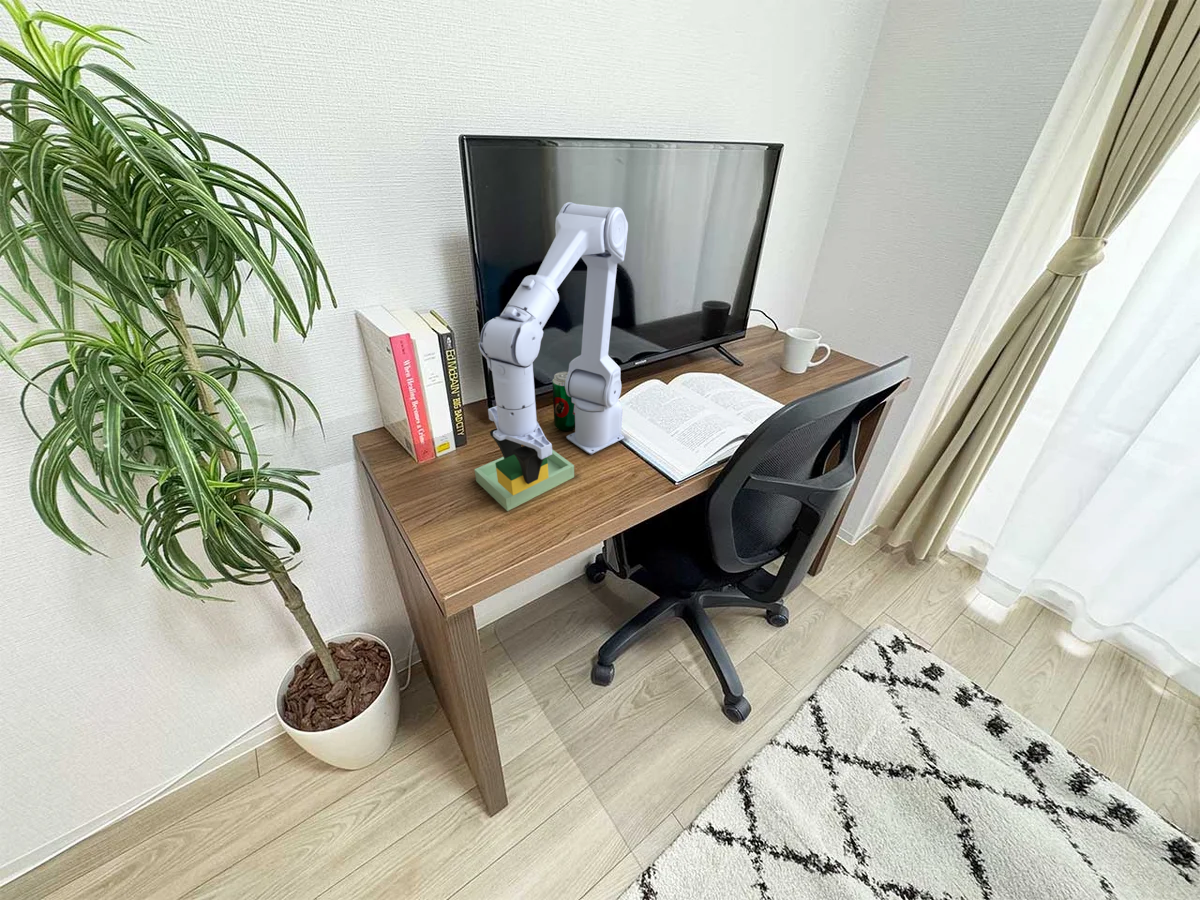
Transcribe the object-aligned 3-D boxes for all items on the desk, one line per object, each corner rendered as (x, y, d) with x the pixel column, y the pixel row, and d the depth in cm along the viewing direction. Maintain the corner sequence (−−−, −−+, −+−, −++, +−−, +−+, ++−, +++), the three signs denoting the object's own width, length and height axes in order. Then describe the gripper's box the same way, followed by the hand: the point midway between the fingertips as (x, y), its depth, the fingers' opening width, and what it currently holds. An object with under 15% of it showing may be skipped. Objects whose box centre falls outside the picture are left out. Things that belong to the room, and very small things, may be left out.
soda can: (579, 431, 101) (579, 380, 94) (556, 433, 100) (553, 382, 93) (575, 418, 105) (574, 369, 98) (552, 421, 104) (550, 371, 97)
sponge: (533, 465, 81) (531, 446, 79) (548, 477, 78) (547, 458, 76) (497, 482, 77) (495, 462, 75) (512, 495, 75) (510, 476, 72)
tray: (541, 451, 95) (540, 440, 93) (574, 477, 88) (574, 465, 87) (476, 481, 87) (474, 469, 85) (507, 511, 80) (505, 498, 79)
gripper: (466, 390, 71) (478, 462, 79) (520, 430, 63) (527, 506, 70) (506, 376, 75) (514, 446, 83) (562, 412, 66) (564, 487, 74)
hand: (522, 473), depth 77 cm, fingers closed on sponge, 4 cm apart
